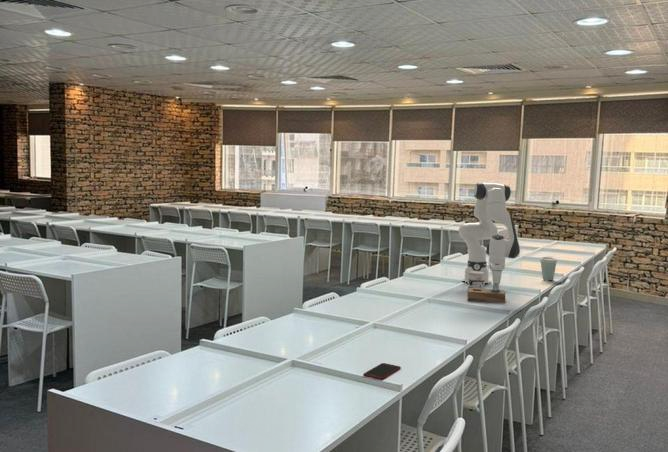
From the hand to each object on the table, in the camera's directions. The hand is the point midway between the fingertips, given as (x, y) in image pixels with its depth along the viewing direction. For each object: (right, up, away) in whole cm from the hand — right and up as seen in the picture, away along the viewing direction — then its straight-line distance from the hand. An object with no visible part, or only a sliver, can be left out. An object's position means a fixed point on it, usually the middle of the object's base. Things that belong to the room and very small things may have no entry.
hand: (495, 289), depth 317 cm
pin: (0, -3, 0) cm, 3 cm away
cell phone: (-73, -17, -117) cm, 139 cm away
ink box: (-5, -4, +25) cm, 25 cm away
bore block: (-5, -6, +2) cm, 8 cm away
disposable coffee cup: (+53, -1, +64) cm, 83 cm away
